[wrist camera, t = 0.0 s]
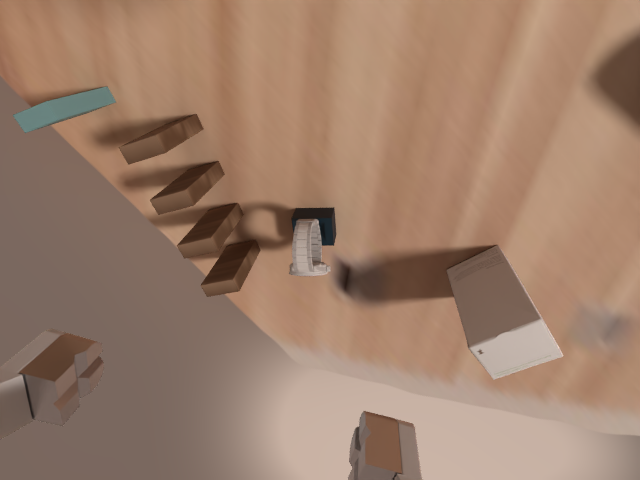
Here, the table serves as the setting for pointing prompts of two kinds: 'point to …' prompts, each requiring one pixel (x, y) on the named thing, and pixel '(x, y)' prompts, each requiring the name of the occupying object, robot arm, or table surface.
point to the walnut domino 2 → (187, 188)
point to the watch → (311, 240)
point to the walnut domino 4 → (231, 269)
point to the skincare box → (500, 315)
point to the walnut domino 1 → (161, 139)
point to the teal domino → (63, 109)
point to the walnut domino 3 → (211, 231)
